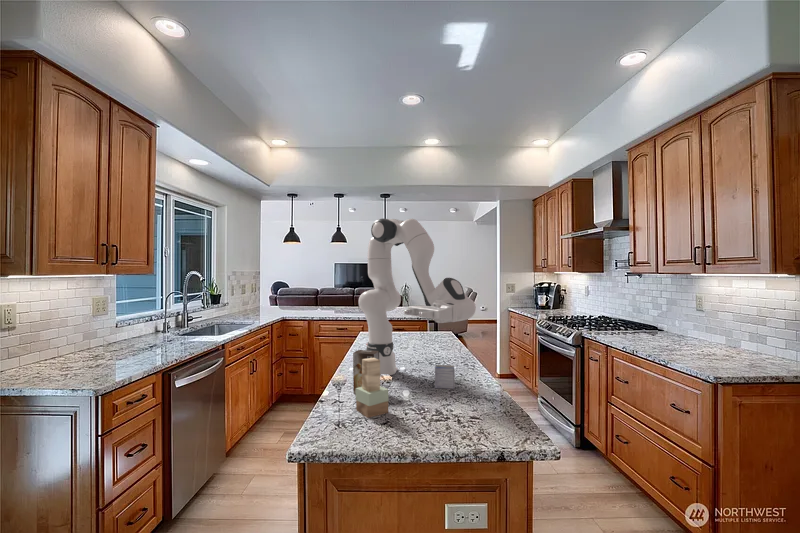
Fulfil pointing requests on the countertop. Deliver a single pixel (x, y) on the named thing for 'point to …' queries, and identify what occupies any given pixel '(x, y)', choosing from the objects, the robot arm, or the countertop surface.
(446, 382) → the medicine box
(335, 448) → the countertop surface
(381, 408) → the block bottom
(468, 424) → the countertop surface
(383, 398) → the block top
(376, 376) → the pillar
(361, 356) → the coffee box
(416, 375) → the countertop surface
